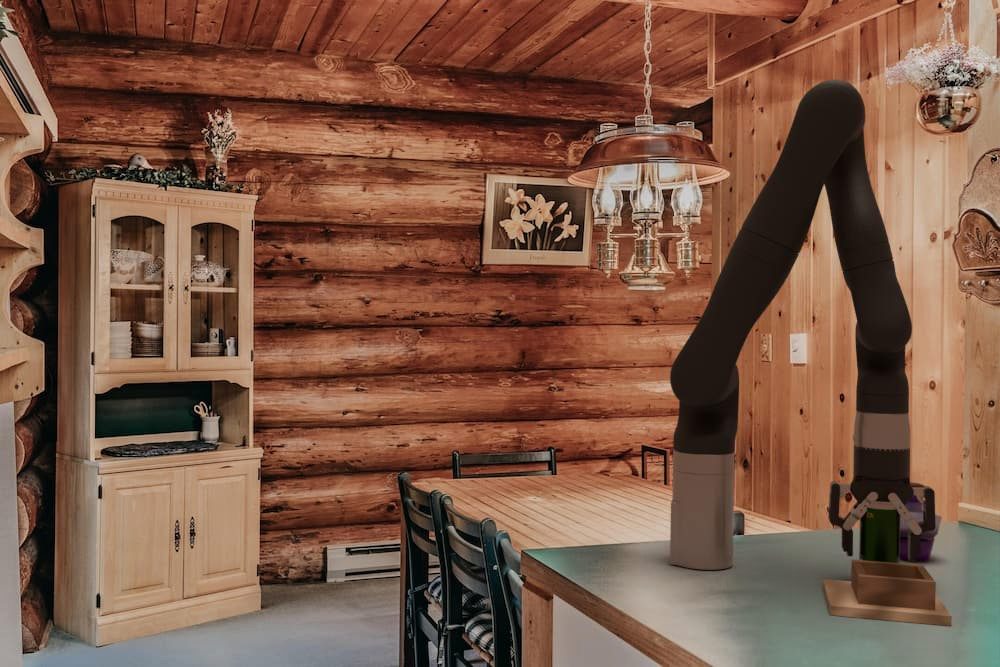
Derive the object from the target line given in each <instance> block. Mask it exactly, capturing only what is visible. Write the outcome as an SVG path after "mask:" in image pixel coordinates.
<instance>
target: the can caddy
mask: <svg viewBox="0 0 1000 667" xmlns="http://www.w3.org/2000/svg"><path fill="white" fill-rule="evenodd" d="M850 571H851V572H850V574H851V575H850V579H851V580H842V579H841V580H840V579H838V580H837V579H827V578H823V579H822V589H823V593H824V596H825V600H826V603H827V608H828V611H829V614H830V616H837V617H848V618H859V619H870V620H880V621H893V622H903V623H914V624H915V623H916V624H925V625H927V624H928V625H936V626H947V627H948V626H949V627H952V620H953V618H952V614H951V613H950V611H948V609H947V608H946V606H945V604H944V603H943V602H942V600H941V599H940V598H939V596H938V595H937V593H936V589H937V588H936V587H937V584H936V581H935V579H934V578H933V576H932V575H931V574H930V573H929V571H928V570H927V569H926V567H925V566H924V565H923V564H918V563H901V562H900V563H891V562H878V561H865V560H859V559H851V568H850Z"/></svg>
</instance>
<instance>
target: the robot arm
mask: <svg viewBox="0 0 1000 667" xmlns="http://www.w3.org/2000/svg"><path fill="white" fill-rule="evenodd" d="M791 123H792V124H791V127H790V129H789V131H788V134H787V137H786V140H785V142H784V145H783V148H782V150H781V152H780V155H779V158H778V160H777V162H776V163H775V166H774V168H773V170H772V172H771V173H770V175H769V177H768V179H767V180H766V182H765V183H764V186H762V189H761V190H760V192H759V194H758V196H757V198H756V200H755V201H754V203H753V205H752V207H751V208H750V211H749V212H748V215H747V216H746V218H745V219H744V221H743V224H742V226H741V227H740V230H739V232H738V233H737V235H736V237H735V240H734V242H733V244H732V245H731V247H730V250H729V253H728V254H727V257H726V259H725V262H724V264H723V266H722V268H721V271H720V273H719V276H718V278H717V280H716V282H715V285H714V288H713V290H712V292H711V295H710V298H709V300H708V303H707V305H706V308H704V312H703V313H702V315H701V317H700V318H699V320H698V322H697V324H696V325H695V327H694V329H693V330H692V332H691V333H690V335H689V337H688V339H687V340H686V342H685V343H684V345H683V347H682V348H681V350H680V352H679V353H678V355H677V356H676V357H675V359H674V361H673V363H672V365H671V369H670V372H669V378H670V379H669V382H670V386H671V387H670V388H671V390H672V392H673V395H674V397H675V398H676V399H677V400H678V418H677V423H676V427H675V429H674V432H673V439H672V440H673V443H672V446H673V448H672V449H673V451H672V452H673V453H672V494H671V495H672V500H671V502H670V536H669V537H670V539H669V540H670V541H669V542H670V543H669V544H670V545H669V565H674V566H675V565H676V566H679V567H684V568H689V569H695V570H703V571H705V570H706V571H709V570H710V571H712V570H713V571H714V570H716V571H717V570H723V569H728V568H731V567H733V565H734V562H733V560H734V559H733V558H734V509H735V508H734V506H735V505H734V504H735V501H734V500H735V498H734V497H735V454H736V453H735V448H736V447H735V446H736V445H735V444H736V438H737V433H738V428H739V426H738V424H739V407H740V406H739V404H740V402H739V400H740V375H739V374H740V373H739V368H738V366H737V362H738V359H739V357H740V354H741V351H742V349H743V347H744V344H745V343H746V340H747V338H748V336H749V334H750V333H751V330H752V329H753V327H754V325H756V323H757V322H758V320H759V319H760V318H761V316H762V315H763V314H764V312H765V311H766V310H767V309H768V307H769V306H770V304H771V303H772V301H773V300H774V299H775V298H776V297H777V294H778V293H779V291H780V290H781V289H782V288H783V286H784V284H785V283H786V280H787V278H788V277H789V276H790V273H791V271H792V269H793V267H794V265H795V263H796V261H797V259H798V258H799V255H800V253H801V251H802V249H803V246H804V244H805V242H806V239H807V236H808V234H809V232H810V228H811V225H812V223H813V220H814V217H815V212H816V210H817V206H818V203H819V200H820V196H821V193H822V191H823V188H825V192H826V196H827V201H828V206H829V212H830V213H829V214H830V220H831V225H832V232H833V238H834V242H835V243H834V244H835V247H836V251H837V256H838V260H839V263H840V264H839V265H840V268H841V272H842V276H843V280H844V282H845V285H846V287H847V288H848V290H849V292H850V296H851V299H852V305H853V308H854V313H855V317H856V323H855V328H854V329H855V333H854V335H855V337H854V338H855V339H854V340H855V341H854V342H855V355H856V357H855V358H856V367H857V379H856V380H857V381H856V388H855V397H856V398H855V410H856V411H855V417H854V425H853V434H852V441H853V465H852V466H853V467H852V468H853V471H852V472H853V473H852V474H853V477H852V481H851V483H839V482H837V481H835V480H833V481H831V482H830V484H829V500H828V502H829V503H828V520H829V523H830V524H831V525H833V526H836V527H839V528H840V529H841V548H842V550H843V552H845V553H846V556H847V557H853V556H854V554H853V553H854V530H853V528H854V526H855V524H856V523H857V522H858V521H860V518H861V517H862V516H863V515H864V514H865V512H866V511H867V506H868V505H869V504H870V503H871V502H872V501H878V500H883V501H890V502H893V505H894V506H895V507H896V508H897V511H898V513H899V514H900V516H901V517H902V518H903V520H904V521H905V522H906V524H907V525H908V527H909V528H910V532H908V559H909V560H910V561H915V557H919V556H920V545H921V534H922V533H924V532H927V531H934V530H935V528H936V524H935V515H936V493H935V490H934V489H933V488H932V487H931V486H929V485H924V487H923V488H919V487H912V486H911V483H910V482H911V424H910V423H911V422H910V414H909V413H910V412H909V411H910V410H909V409H910V406H909V404H910V386H909V379H908V376H907V374H906V346H907V345H908V343H909V342H910V339H911V338H912V335H913V334H912V332H913V323H912V319H911V314H910V311H909V308H908V304H907V302H906V299H905V295H904V293H903V291H902V288H901V285H900V283H899V280H898V278H897V271H896V266H895V260H894V258H893V257H894V256H893V253H892V249H891V245H890V241H889V236H888V233H887V229H886V226H885V222H884V220H883V217H882V213H881V210H880V208H879V205H878V202H877V200H876V196H875V193H874V189H873V187H872V182H871V179H870V176H869V170H868V164H867V160H866V159H867V157H866V148H865V146H866V145H865V130H864V129H865V124H866V106H865V101H864V99H863V96H862V95H861V93H860V92H859V90H858V89H857V88H856V87H855V86H854V85H853V84H851V83H849V81H845V80H843V79H835V78H834V79H826V80H824V81H821V82H819V83H817V84H816V85H814V86H812V87H811V88H810V89H809V90H808V91H806V93H805V94H804V95H803V96H802V98H801V99H800V101H799V103H798V105H797V108H796V111H795V114H794V118H793V120H792V122H791ZM847 493H850V494H851V495H852V496H853V497H854V499H855V500H856V502H855V503H854V505H852V506H851V508H850V510H849V512H847V514H846V515H845V516H844V517H841V516H840V504H841V503H840V502H841V499H844V498H845V497H846V494H847ZM913 495H916V496H917V498H918V500H919V501H920V502H921V503H923V508H922V510H923V521H922V522H918V523H917V522H916V521H915V520H914V518H913V517H912V515H911V514H910V513H909V511H908V510H907V509H906V507H905V505H906V504H907V503H908V501H909V500H910V499H911V498H912V496H913ZM871 504H872V503H871ZM864 505H866V506H864ZM860 510H861V511H860Z"/></svg>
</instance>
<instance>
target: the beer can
mask: <svg viewBox="0 0 1000 667" xmlns="http://www.w3.org/2000/svg"><path fill="white" fill-rule="evenodd" d="M871 503H872V504H871ZM871 503H870V504H869V505H868V506H867V511H866V512H865V514H864V515H863V516H862V517H861V518H860V519H859V539H858V540H859V545H858V546H859V547H858V548H859V549H858V555H859V556H858V560H865V561H878V562H891V563H901V562H900V561H901V560H900V514H899V513H898V511H897V508H896V507H895V506H894V505H893V502H890V501H883V500H878V501H872V502H871ZM864 506H866V505H864ZM860 511H861V510H860Z"/></svg>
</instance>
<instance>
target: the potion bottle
mask: <svg viewBox="0 0 1000 667" xmlns="http://www.w3.org/2000/svg"><path fill="white" fill-rule="evenodd" d="M910 483H911V486H912V487H919V488H923V487H925V484H922V483H919V482H912V481H910ZM905 507H906V509H907V510H908V511H909V513H910V514H911V515H912V517H913V518H914V520H915V521H916V522H917V523H918V522H922V521H923V503H921V502H920V501H919V500H918V498H917V496H916V495H913V496H912V498H911V499H910V500H909V501H908V503H907V504H906V505H905ZM941 521H942V516H941V515H938V514H935V524H936V528H935V530H934V531H927V532H924V533H922V534H921V545H920V556H919V557H915V561H910V560H909V559H908V532H910V528H909V527H908V525H907V524H906V522H905V521H904V520H903V518H902V517H901V516H900V561H903V562H910V563H914V564H917V563H928V562H930V561H931V560H932V559H931V555H932V551H933V547H934V542H935V539H936V538H935V537H936V536H937V535H938V534H939V530H940V526H941Z"/></svg>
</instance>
